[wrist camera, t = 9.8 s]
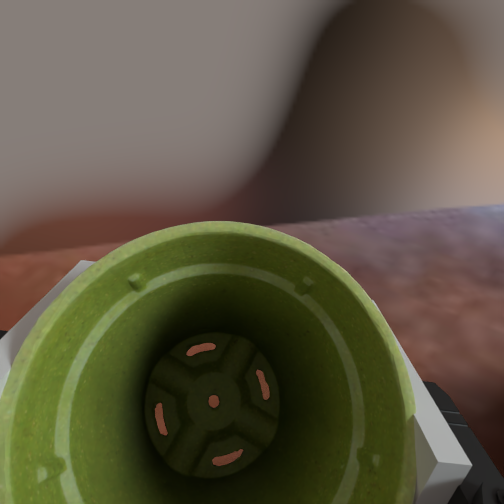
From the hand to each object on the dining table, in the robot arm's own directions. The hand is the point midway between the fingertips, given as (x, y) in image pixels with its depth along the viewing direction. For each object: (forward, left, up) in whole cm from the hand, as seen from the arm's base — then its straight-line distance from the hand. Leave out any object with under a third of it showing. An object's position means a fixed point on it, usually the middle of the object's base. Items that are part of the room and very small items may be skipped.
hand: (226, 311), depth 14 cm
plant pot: (+2, +2, -4) cm, 5 cm away
